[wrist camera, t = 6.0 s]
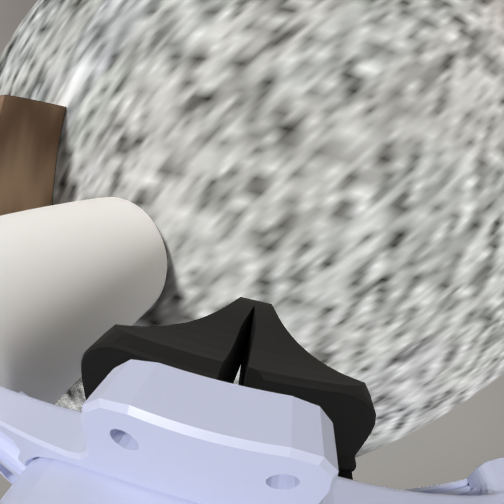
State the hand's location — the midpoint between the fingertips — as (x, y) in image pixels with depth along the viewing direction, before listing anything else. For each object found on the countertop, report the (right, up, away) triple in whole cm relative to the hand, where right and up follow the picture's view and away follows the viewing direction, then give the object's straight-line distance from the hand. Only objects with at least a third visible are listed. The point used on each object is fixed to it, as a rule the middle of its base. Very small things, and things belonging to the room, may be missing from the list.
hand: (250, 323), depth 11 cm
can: (-7, +3, +4) cm, 8 cm away
